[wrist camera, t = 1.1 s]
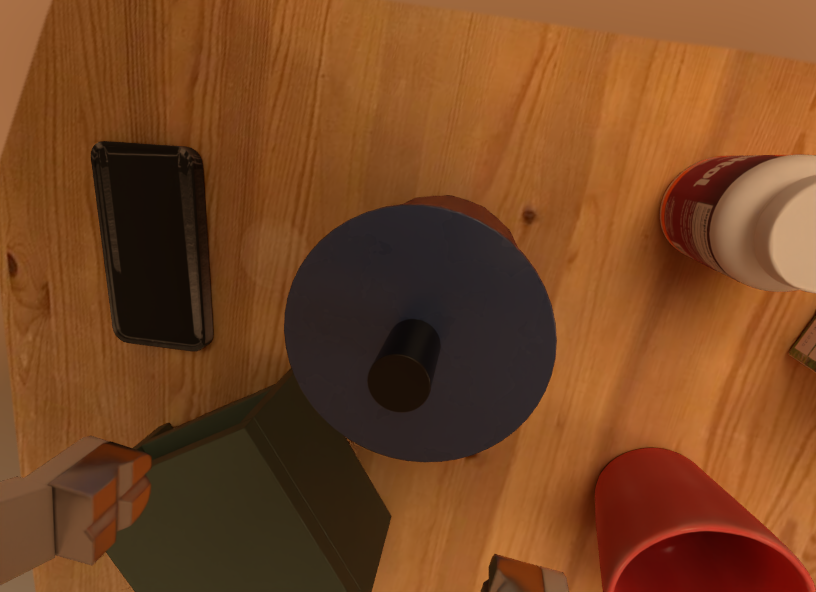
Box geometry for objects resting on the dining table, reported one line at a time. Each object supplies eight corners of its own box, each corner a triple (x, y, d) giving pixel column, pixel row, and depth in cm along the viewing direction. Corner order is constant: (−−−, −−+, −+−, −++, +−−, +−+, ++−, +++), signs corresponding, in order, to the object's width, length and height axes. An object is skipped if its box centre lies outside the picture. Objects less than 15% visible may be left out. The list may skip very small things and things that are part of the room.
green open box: (158, 426, 40) (67, 501, 31) (302, 362, 36) (244, 428, 27) (249, 561, 43) (188, 665, 34) (391, 516, 39) (364, 620, 30)
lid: (247, 273, 23) (182, 304, 18) (482, 150, 19) (481, 147, 15) (367, 479, 25) (338, 556, 20) (596, 399, 22) (627, 468, 17)
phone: (192, 147, 31) (205, 353, 36) (202, 147, 32) (214, 347, 37) (87, 140, 32) (112, 341, 37) (99, 140, 33) (123, 336, 38)
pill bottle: (766, 144, 27) (941, 135, 17) (768, 248, 29) (930, 299, 18) (651, 167, 28) (747, 172, 18) (659, 265, 30) (752, 323, 20)
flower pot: (731, 420, 32) (830, 526, 23) (728, 551, 35) (816, 692, 26) (569, 429, 34) (600, 529, 25) (579, 552, 37) (611, 683, 28)
